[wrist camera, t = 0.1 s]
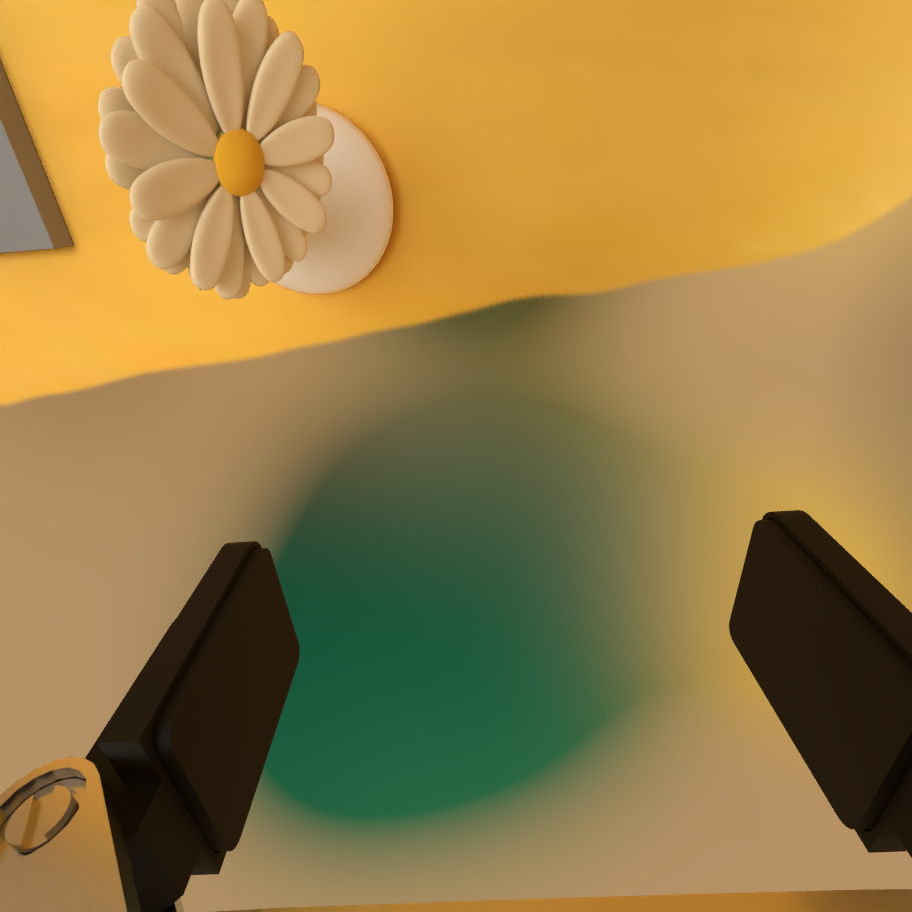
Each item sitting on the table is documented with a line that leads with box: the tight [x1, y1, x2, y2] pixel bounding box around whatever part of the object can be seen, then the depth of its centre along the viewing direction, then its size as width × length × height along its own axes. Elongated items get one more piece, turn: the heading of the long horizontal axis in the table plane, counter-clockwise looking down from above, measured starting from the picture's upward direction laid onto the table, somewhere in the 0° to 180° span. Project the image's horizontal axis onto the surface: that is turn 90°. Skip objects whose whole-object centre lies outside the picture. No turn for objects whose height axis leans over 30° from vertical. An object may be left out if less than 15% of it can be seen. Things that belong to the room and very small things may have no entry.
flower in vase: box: [98, 0, 393, 299], centre depth 24 cm, size 13×11×25 cm
